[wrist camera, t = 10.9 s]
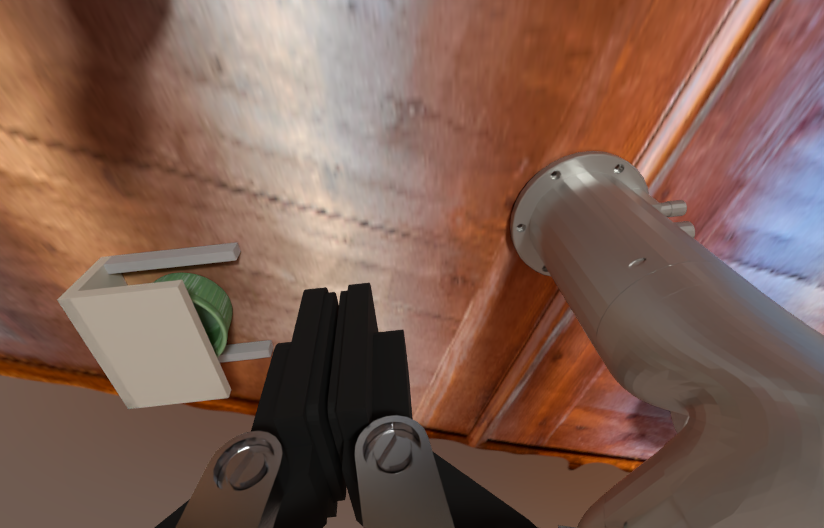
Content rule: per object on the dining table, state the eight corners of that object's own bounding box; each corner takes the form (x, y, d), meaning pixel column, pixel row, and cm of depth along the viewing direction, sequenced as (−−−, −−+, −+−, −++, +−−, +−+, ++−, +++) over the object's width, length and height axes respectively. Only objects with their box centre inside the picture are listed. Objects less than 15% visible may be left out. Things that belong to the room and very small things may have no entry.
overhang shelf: (237, 242, 40) (215, 282, 35) (273, 347, 47) (259, 394, 42) (101, 257, 40) (57, 299, 35) (157, 359, 47) (128, 408, 41)
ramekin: (235, 344, 47) (223, 375, 43) (144, 330, 45) (123, 360, 41) (242, 276, 42) (229, 304, 39) (141, 257, 40) (118, 284, 37)
